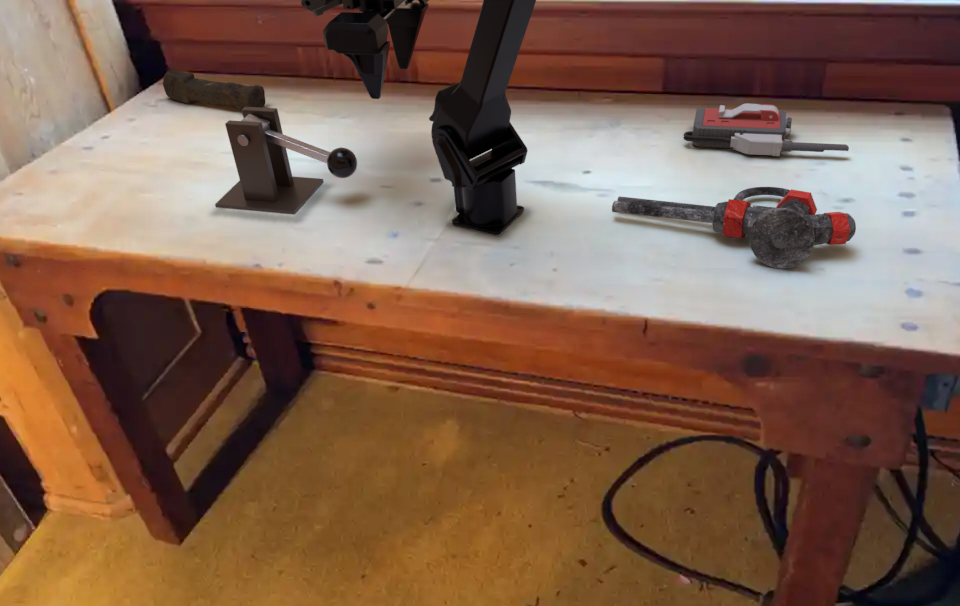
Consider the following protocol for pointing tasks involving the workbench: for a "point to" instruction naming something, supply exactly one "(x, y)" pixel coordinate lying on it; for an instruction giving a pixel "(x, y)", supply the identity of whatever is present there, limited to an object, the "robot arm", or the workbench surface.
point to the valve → (759, 222)
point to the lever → (311, 150)
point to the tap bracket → (263, 169)
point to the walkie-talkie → (749, 131)
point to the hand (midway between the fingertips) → (390, 83)
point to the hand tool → (211, 91)
